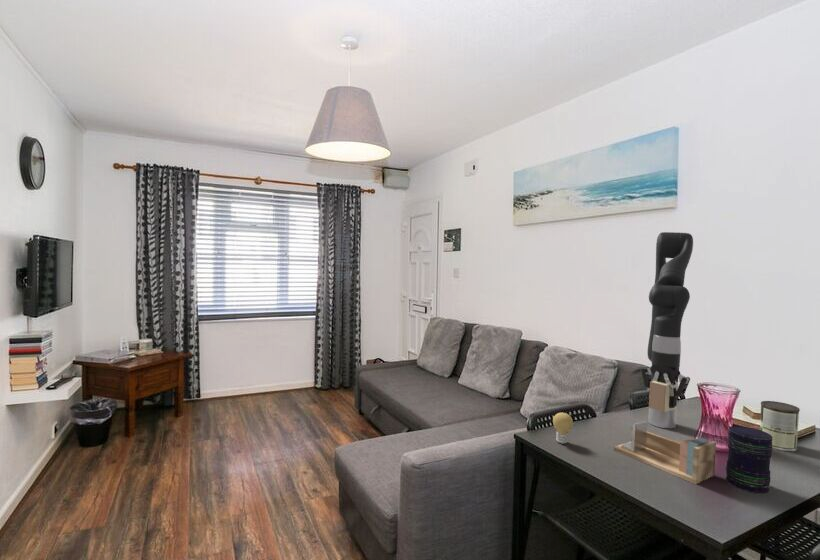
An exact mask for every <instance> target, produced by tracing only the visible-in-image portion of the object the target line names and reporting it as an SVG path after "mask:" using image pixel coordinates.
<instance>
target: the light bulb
mask: <svg viewBox="0 0 820 560" xmlns="http://www.w3.org/2000/svg"><path fill="white" fill-rule="evenodd" d="M552 423H553V424H552V425H553V427H554V429H555V430H556V433H555V434H556V435H555V437H556V438H555V440H556V441H557V442H558V443H559V444H567V443H568V442H569V440H568V439H569V431H571V429H572V428H573V425H574V421H573V418H572V416H571V415H569V414H568V413H565V412H558V413H556V414H555V415H554V416H553V418H552Z"/></svg>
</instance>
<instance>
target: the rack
mask: <svg viewBox="0 0 820 560" xmlns="http://www.w3.org/2000/svg"><path fill="white" fill-rule="evenodd" d="M632 432H633V426H631V434H630V441H629V442H625V443H621V444H618V445H615V446H613V451H616V452H618V453H620V454H622V455H624V456H628V457H630V458H632V459H635V460H637V461H639V462H642V463H644V464H647V465H648V466H652V467H654V468H656V469H659V470H661V471H663V472H666V473H667V474H670V475H673V476H675V477H677V478H679V479H682V480H685V481H687V482H690V483H692V484H694V485H697V484H699V483H701V481H702V482H703V480H704V481H706V480H708V478H709V479H710V477H711V478H713V477H715V472H716V471H715V469H716V467H715V466H716V456H717V455H716V453H717V442H716V441H714V440H712V441H710V440H709V439H705V438H703V437H698V438H693V437H692V438H688V439H685V440H683V441H680V443H678V442H675V441H673V440H674V439H672V440H670V439H671V438H669V439H667V438H668V437H665V436H661V435H658V434H656V433H652V432H649V431H647V442H646V449H643V450H640V451H637V452H631V451H629V450H627V449H624V448H622V447H621V445H623V444H627V443H630V442H632ZM664 437H665V438H664Z"/></svg>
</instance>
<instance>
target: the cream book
mask: <svg viewBox="0 0 820 560" xmlns="http://www.w3.org/2000/svg"><path fill="white" fill-rule="evenodd" d="M671 385H674V383H672V384H671ZM678 387H679V382H678V383H677V389H678ZM669 391H670V389H669V384H666V383H662V382H658V381H657V382H656V381H652V382H650V389H649V396H648V397H649V398H648V400H649V401H648V409H649V408H652V409H655V410H659V411H662V412H666V411H669V410H673V409H677V410H678V404H677V405H676V406H675V407H674V408H669V396H671V395H670V393H669Z"/></svg>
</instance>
